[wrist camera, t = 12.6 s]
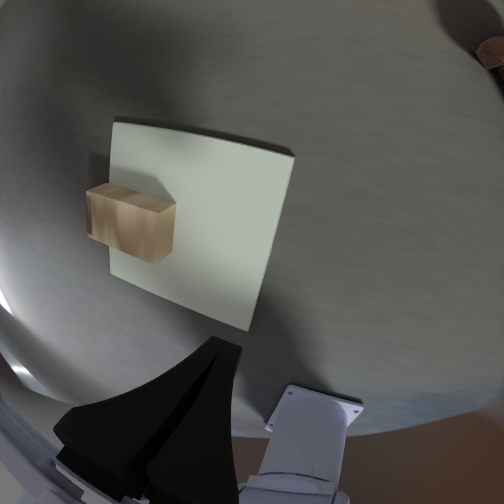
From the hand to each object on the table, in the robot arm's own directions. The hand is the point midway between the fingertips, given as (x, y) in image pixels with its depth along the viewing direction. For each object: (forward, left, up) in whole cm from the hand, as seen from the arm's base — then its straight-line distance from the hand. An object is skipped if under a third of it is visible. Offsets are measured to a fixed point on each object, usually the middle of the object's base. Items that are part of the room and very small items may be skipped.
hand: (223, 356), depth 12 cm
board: (0, +8, -10) cm, 12 cm away
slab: (0, +8, -8) cm, 11 cm away
